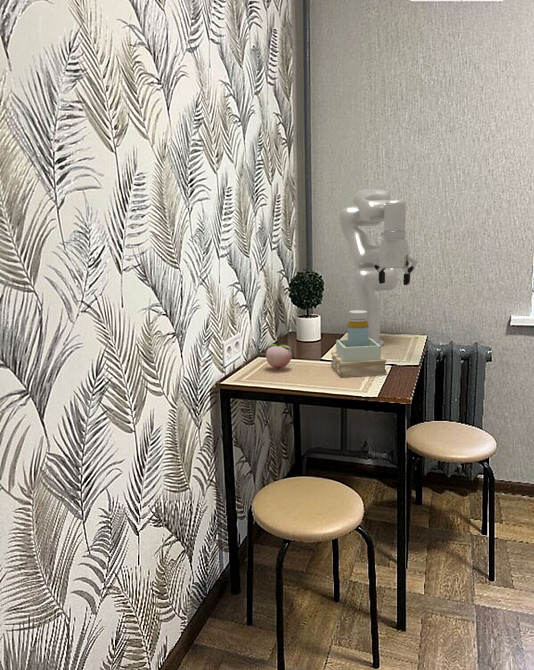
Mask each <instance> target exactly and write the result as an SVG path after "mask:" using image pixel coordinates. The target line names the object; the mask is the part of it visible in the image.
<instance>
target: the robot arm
mask: <svg viewBox="0 0 534 670" xmlns="http://www.w3.org/2000/svg"><path fill="white" fill-rule="evenodd" d="M352 201H353V202H352V203H353V205H352V206H346V207H344V208H342V209H341V211H340V213H339V225H340V229H341V232H342V234H343V236H344V238H345V239H346V241H347V243H348V247H349V250H350V256H351V259H352V262H353V265H354V267H355V268H357V270H356V271H355V273H354V277H353V281H354V288H355V298H356V310H365V311H367V322H368V338H371V339H373V340H374V341H375V342H376V343H378V344H379V345H380V346H381V347H382V346H383V345H384V340H382V339H381V303H380V302H381V301H380V298H379V297H378V296H377V295H376V293H375V292H378V291H379V292H381V291H382V292H383V291H392V290H394V289H396V288H397V286H398V285H399V283H398V282H399V277H398V272H397V271H398V270H397V269H402V271H403V272H404V273H403V280H402V281H403V285H404V286H408V285H410V283H411V273H412V272H413V271H414V270H415V269H416V266H417V265H418V261H417V260H416V259H414V258H412V257H411V256H410V250H409V244H408V240H407V239H406V225H407V224H406V219H407V218H406V214H407V212H406V211H407V210H406V209H407V206H406V200H405V201H404V200H402V199H391V195H390V193H389V192H388V190H386V189H383V188H378V189H377V188H369V189H367V188H366V189H360V190H358V191H357V192H356V193H355V194H354V196H353V199H352ZM382 222H383V231H382V232H381V233H380V236H381V237H382V238H383V239H381V241H380V245H379V244H378V245H372V244H371V243H370V240H369V236H368V235H367V234H366V232H364V231H363V230H362V229H360V228H359V227H376V226H378V225H380V224H381V223H382ZM410 263H411V264H410Z"/></svg>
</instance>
